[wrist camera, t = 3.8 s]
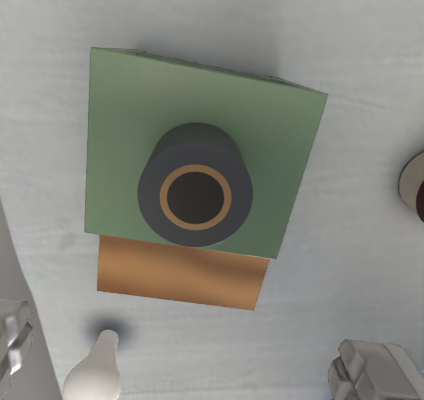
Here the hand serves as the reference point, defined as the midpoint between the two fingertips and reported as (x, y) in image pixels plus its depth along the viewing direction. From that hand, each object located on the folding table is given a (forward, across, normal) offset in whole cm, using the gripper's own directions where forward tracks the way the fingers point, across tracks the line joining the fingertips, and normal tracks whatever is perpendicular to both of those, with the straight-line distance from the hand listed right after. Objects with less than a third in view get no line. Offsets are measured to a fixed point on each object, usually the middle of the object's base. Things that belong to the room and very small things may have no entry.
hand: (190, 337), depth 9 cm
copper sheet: (+27, +1, -15) cm, 31 cm away
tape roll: (+14, 0, 0) cm, 14 cm away
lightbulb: (+27, -7, -29) cm, 40 cm away
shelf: (+27, 0, 0) cm, 27 cm away
